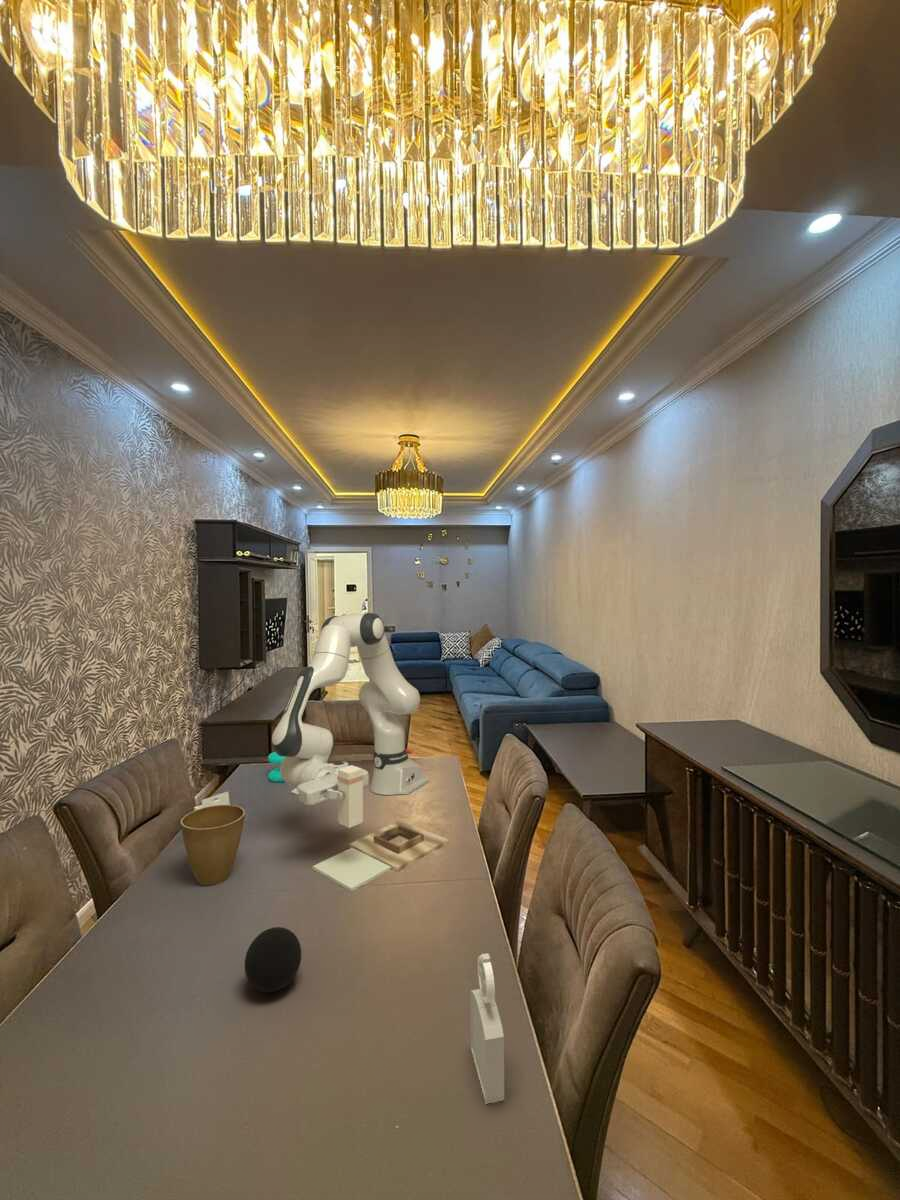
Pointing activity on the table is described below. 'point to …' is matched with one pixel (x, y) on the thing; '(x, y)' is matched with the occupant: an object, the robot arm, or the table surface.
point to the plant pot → (212, 841)
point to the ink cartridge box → (215, 801)
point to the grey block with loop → (487, 1034)
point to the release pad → (351, 869)
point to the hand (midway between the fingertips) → (352, 792)
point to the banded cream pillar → (350, 796)
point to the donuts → (275, 773)
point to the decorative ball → (273, 959)
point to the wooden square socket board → (404, 853)
